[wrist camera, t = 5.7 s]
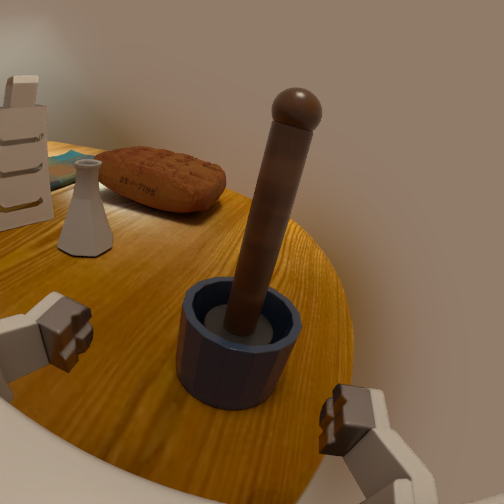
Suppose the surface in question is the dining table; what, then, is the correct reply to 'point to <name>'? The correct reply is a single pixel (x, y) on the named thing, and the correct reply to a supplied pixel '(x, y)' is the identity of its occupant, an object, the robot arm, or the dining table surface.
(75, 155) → the dish towel
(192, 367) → the holder
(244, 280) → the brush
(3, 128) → the grater
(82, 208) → the flask
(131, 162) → the cuneiform tablet
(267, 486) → the dining table surface
